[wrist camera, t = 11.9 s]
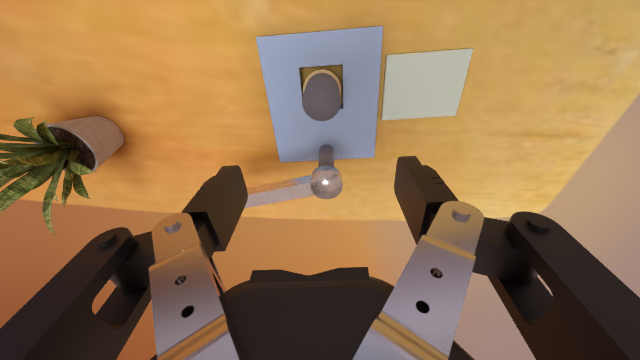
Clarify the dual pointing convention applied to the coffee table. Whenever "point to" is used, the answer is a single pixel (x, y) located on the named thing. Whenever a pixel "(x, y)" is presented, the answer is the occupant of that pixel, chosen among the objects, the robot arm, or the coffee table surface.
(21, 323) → the robot arm
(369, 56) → the plate
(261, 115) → the coffee table surface
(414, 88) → the pad
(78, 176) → the house plant
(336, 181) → the clip
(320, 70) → the plug
